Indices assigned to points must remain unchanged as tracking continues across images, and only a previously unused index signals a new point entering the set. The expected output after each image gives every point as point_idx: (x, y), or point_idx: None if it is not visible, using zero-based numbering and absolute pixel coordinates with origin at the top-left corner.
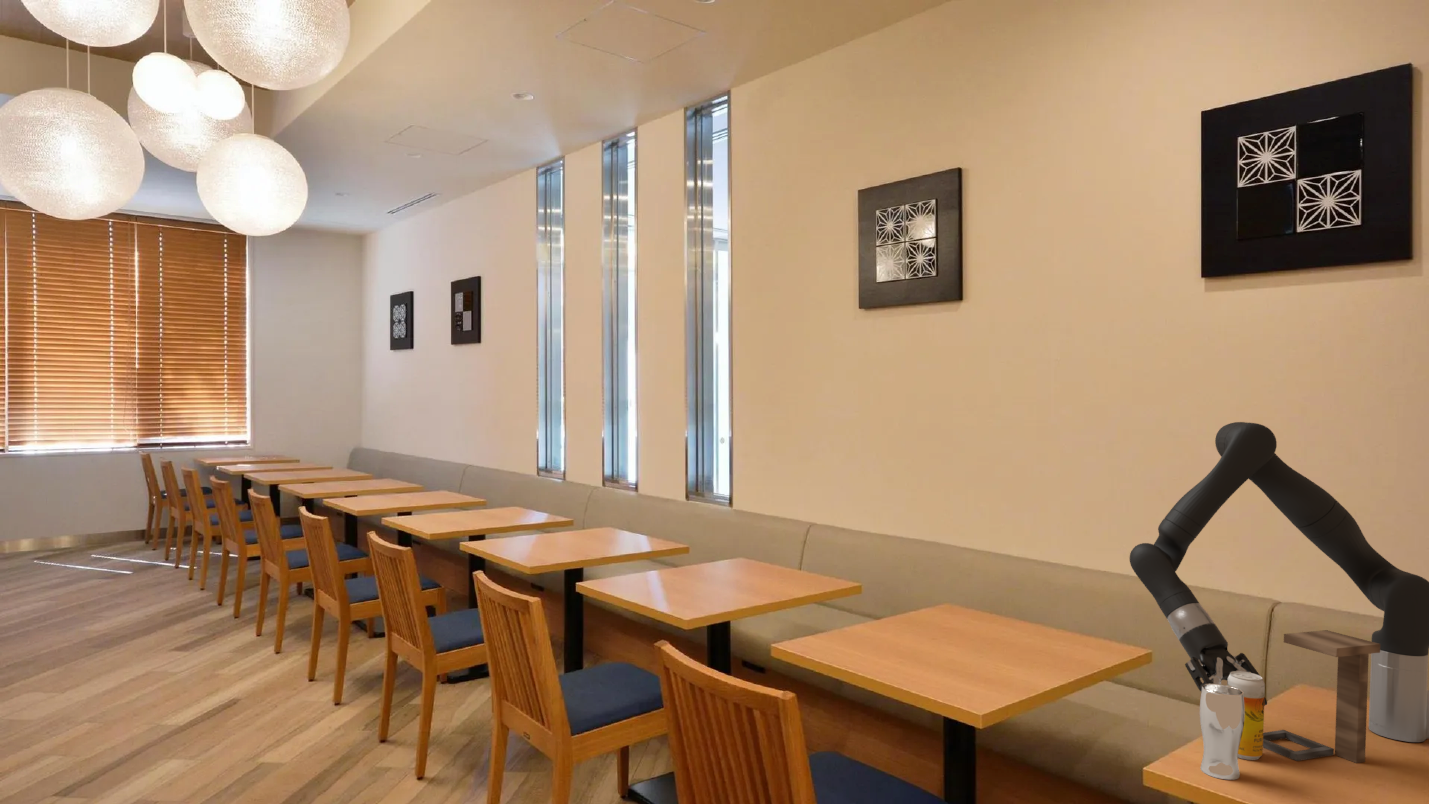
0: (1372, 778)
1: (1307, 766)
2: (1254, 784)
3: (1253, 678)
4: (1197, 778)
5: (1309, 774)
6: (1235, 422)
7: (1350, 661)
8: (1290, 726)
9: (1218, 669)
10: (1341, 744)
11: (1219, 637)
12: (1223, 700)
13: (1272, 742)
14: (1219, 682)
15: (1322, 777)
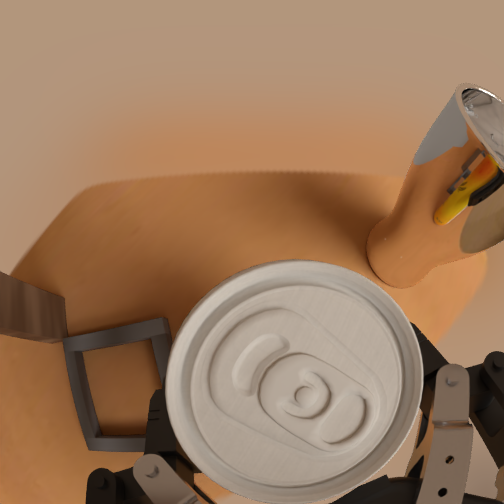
0: (95, 232)
1: (166, 289)
2: (357, 202)
3: (254, 354)
4: None
5: (197, 247)
6: None
7: None
8: (60, 472)
9: (453, 474)
10: (50, 323)
11: None
12: (497, 113)
13: None
14: (443, 401)
15: (182, 233)
